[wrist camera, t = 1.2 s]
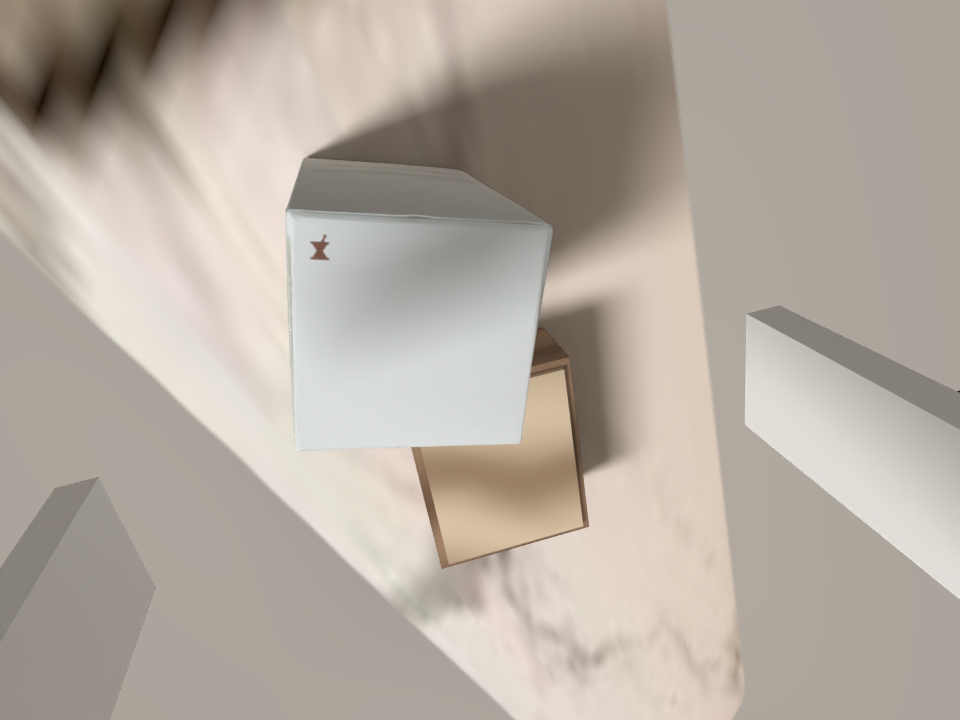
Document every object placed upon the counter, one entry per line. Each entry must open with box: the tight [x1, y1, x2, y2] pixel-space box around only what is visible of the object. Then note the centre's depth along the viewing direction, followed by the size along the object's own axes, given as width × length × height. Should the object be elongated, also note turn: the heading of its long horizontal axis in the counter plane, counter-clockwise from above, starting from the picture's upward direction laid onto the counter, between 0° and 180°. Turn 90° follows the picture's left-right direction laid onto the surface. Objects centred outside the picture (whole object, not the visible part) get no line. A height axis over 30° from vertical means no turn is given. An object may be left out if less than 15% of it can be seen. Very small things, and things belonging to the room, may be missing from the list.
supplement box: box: [286, 158, 553, 451], centre depth 24 cm, size 7×7×13 cm
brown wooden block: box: [411, 328, 589, 569], centre depth 32 cm, size 10×8×4 cm
